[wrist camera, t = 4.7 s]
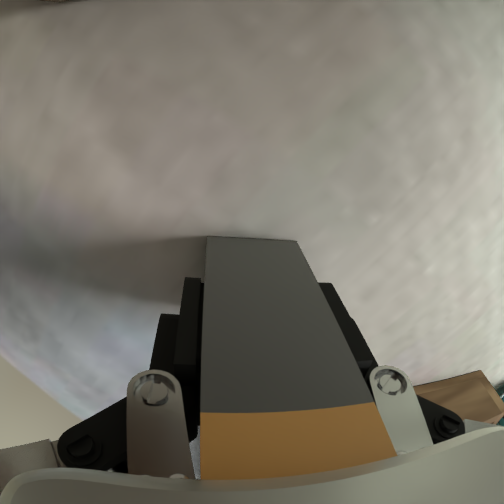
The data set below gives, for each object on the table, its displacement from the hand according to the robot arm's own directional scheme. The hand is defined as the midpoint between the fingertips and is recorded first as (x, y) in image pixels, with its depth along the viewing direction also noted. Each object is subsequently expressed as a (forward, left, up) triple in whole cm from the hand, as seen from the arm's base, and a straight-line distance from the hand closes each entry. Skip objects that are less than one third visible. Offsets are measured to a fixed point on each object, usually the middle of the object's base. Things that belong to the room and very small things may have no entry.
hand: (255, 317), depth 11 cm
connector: (0, 0, -3) cm, 3 cm away
